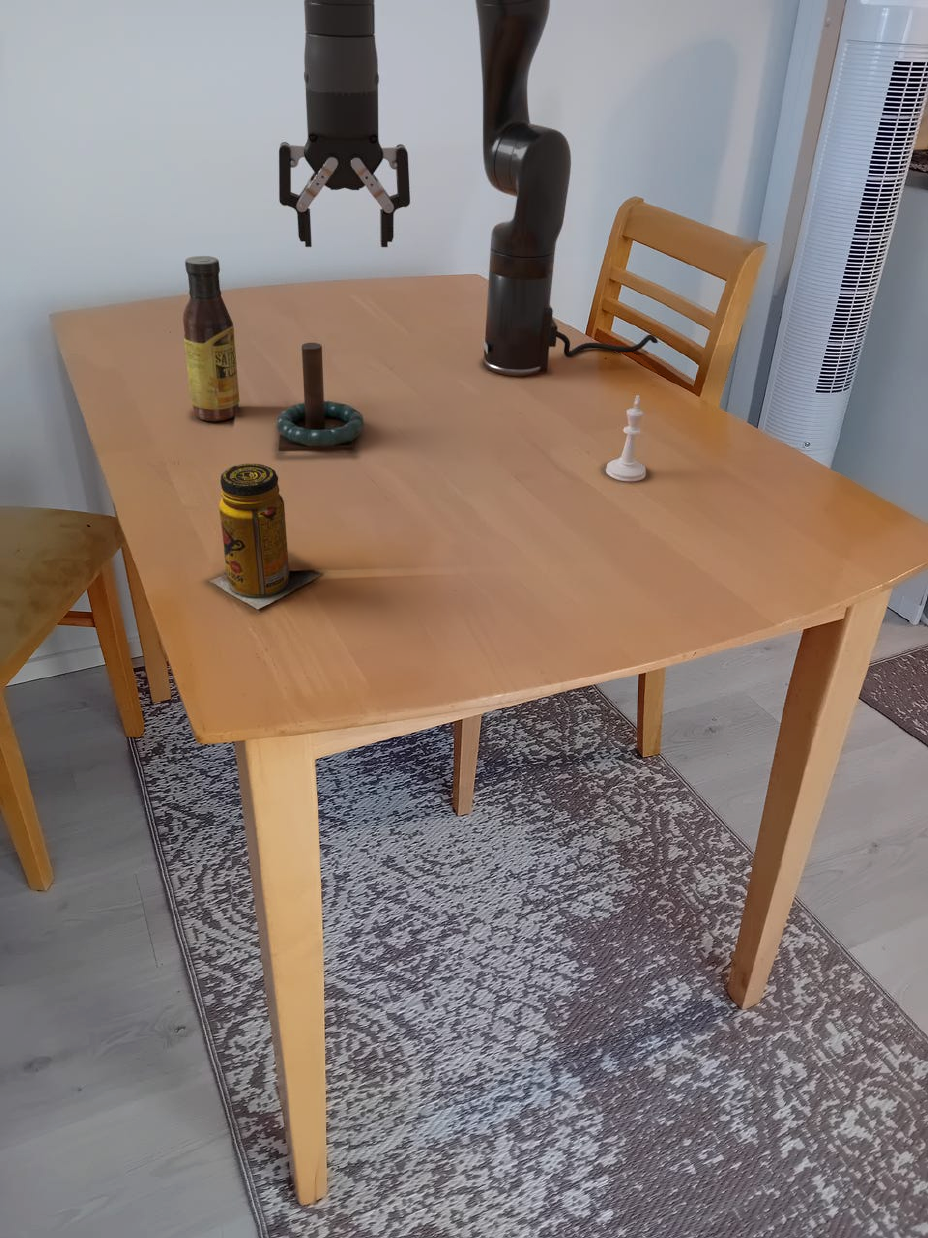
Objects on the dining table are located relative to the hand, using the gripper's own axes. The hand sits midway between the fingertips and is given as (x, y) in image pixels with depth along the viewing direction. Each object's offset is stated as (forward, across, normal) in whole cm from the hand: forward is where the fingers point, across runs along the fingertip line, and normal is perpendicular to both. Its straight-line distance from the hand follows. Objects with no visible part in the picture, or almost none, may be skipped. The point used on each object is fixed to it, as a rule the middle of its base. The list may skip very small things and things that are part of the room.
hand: (346, 245), depth 111 cm
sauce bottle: (+24, +18, -9) cm, 31 cm away
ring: (+22, +4, 0) cm, 22 cm away
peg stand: (+24, +4, 0) cm, 25 cm away
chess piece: (+24, -34, +10) cm, 43 cm away
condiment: (+24, +10, +32) cm, 41 cm away
